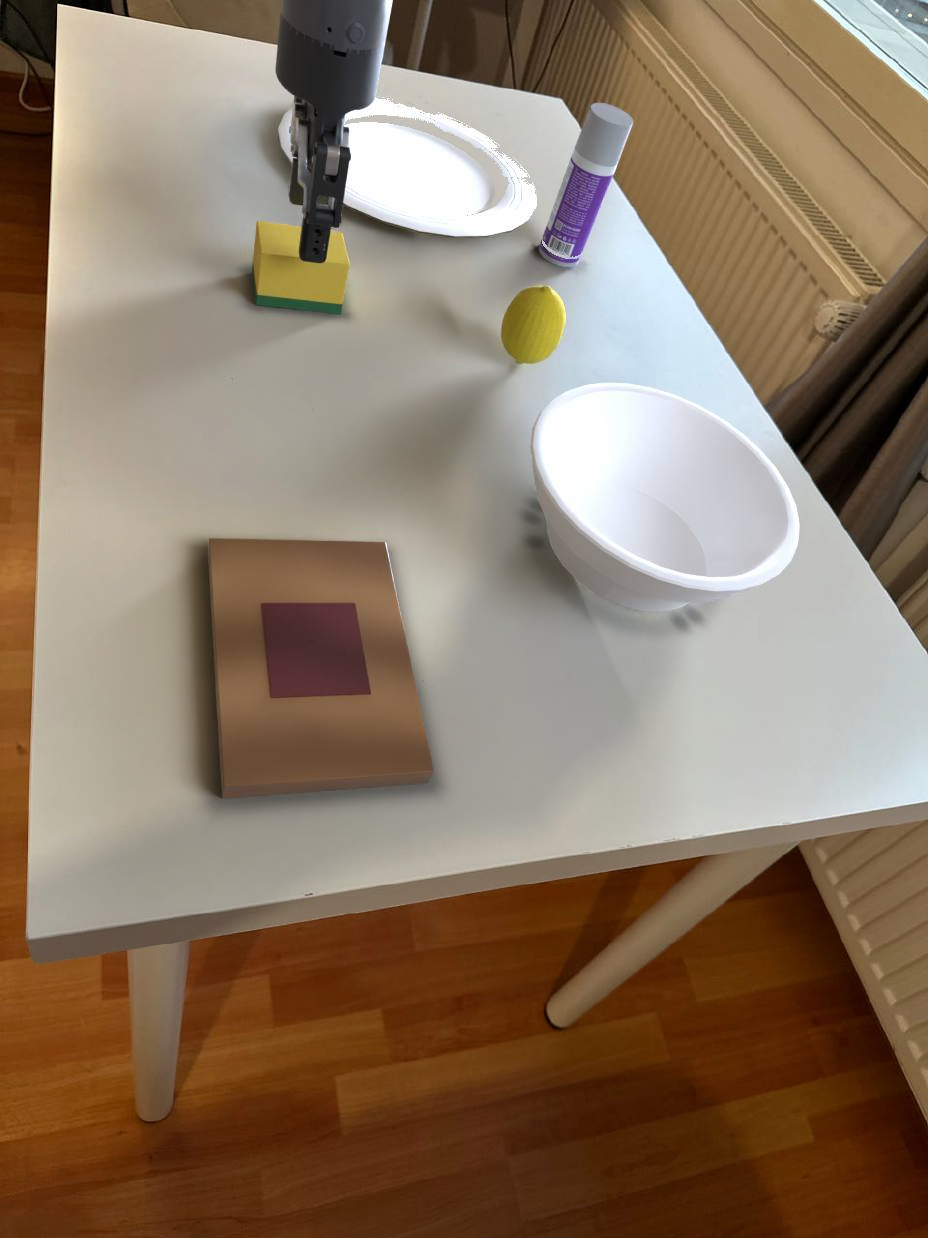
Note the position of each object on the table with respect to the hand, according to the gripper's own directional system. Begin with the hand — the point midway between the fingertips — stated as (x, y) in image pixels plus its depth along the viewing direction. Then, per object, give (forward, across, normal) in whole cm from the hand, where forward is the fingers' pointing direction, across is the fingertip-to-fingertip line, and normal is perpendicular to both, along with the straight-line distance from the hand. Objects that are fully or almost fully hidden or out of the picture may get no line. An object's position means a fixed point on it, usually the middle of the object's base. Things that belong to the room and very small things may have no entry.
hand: (306, 230), depth 75 cm
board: (+6, +40, -3) cm, 41 cm away
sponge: (+6, 0, 0) cm, 6 cm away
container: (+6, -13, +30) cm, 33 cm away
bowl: (+6, +30, +23) cm, 38 cm away
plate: (+6, -25, +15) cm, 30 cm away
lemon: (+6, +7, +20) cm, 22 cm away
